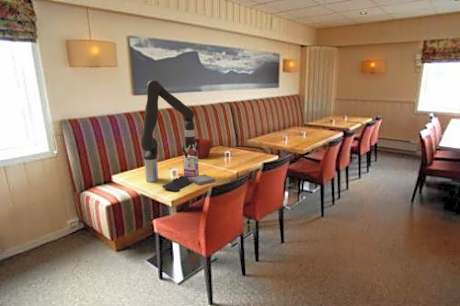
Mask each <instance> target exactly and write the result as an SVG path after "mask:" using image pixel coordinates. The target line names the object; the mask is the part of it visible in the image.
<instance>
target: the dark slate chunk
mask: <svg viewBox="0 0 460 306" xmlns="http://www.w3.org/2000/svg"><path fill="white" fill-rule="evenodd" d="M189 178H190V177H184V175H180V176H178V177H176V178H173V180H172V181H170V182H168V183H166V184H164V185H162V188H163V189H167V190H169V191H172V192H178V191H180V190H182V189H184V188H186V187H188V186H190V185H192V184H194V183H193V182H191V181H189Z"/></svg>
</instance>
